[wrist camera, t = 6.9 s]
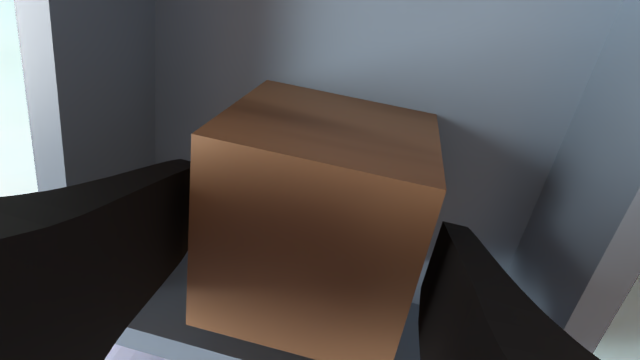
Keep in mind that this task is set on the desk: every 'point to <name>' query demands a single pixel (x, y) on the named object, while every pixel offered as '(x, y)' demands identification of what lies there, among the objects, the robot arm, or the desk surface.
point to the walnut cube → (311, 221)
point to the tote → (378, 86)
